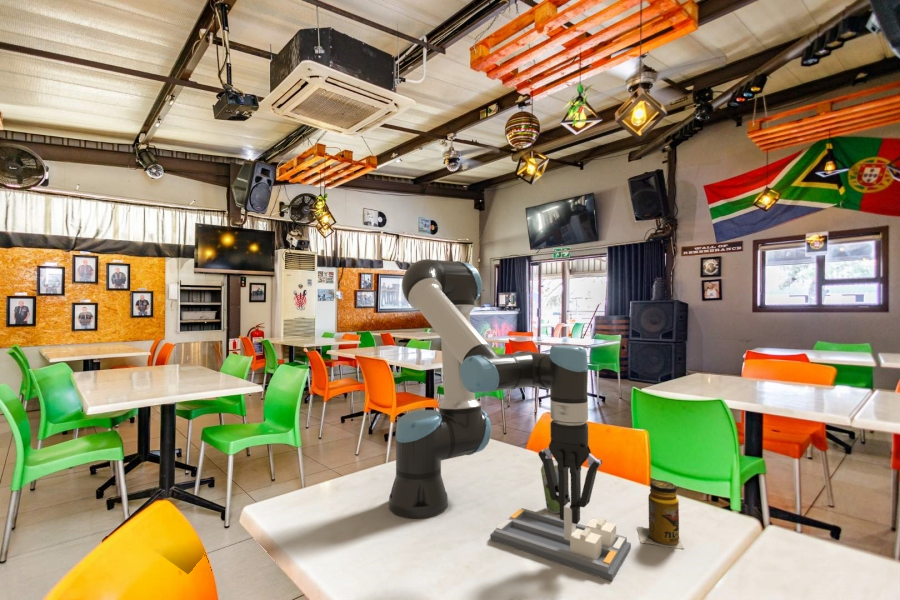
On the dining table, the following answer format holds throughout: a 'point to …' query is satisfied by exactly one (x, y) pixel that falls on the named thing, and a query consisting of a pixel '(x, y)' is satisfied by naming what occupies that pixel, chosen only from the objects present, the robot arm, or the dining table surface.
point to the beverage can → (550, 503)
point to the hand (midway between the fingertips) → (570, 537)
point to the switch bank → (557, 543)
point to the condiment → (662, 516)
